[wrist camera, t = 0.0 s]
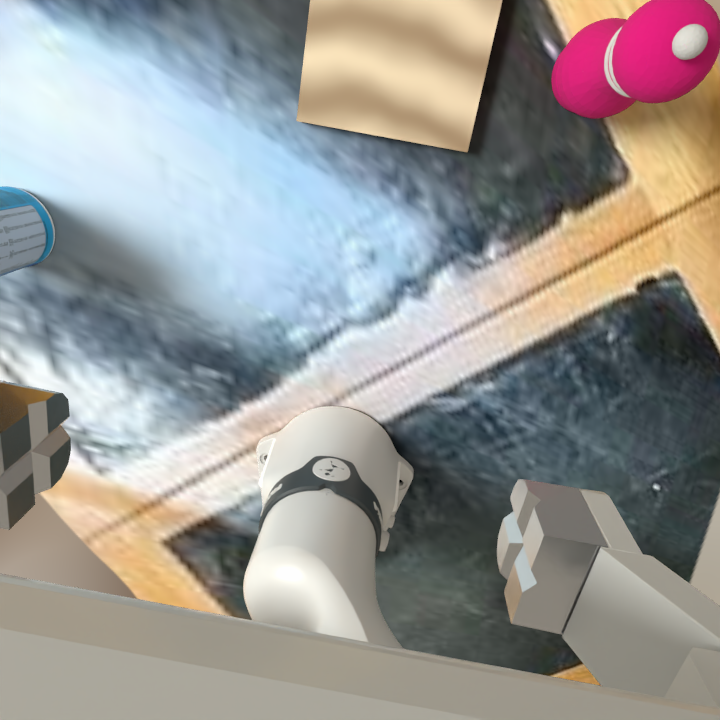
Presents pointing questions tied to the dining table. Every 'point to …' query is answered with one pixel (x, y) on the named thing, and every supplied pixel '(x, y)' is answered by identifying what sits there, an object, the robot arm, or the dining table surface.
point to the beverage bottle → (23, 230)
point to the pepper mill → (637, 58)
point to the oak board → (398, 67)
